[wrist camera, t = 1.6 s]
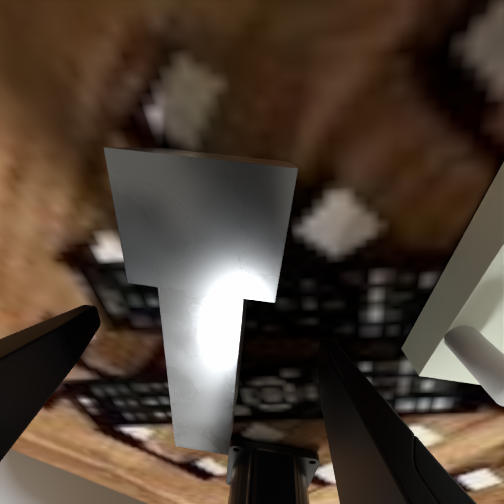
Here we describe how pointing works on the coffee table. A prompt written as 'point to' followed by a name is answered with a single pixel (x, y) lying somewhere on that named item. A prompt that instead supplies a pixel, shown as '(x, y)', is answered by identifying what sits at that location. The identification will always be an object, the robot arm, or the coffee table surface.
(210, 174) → the grey t-shaped plate
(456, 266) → the rack
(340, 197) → the coffee table surface
